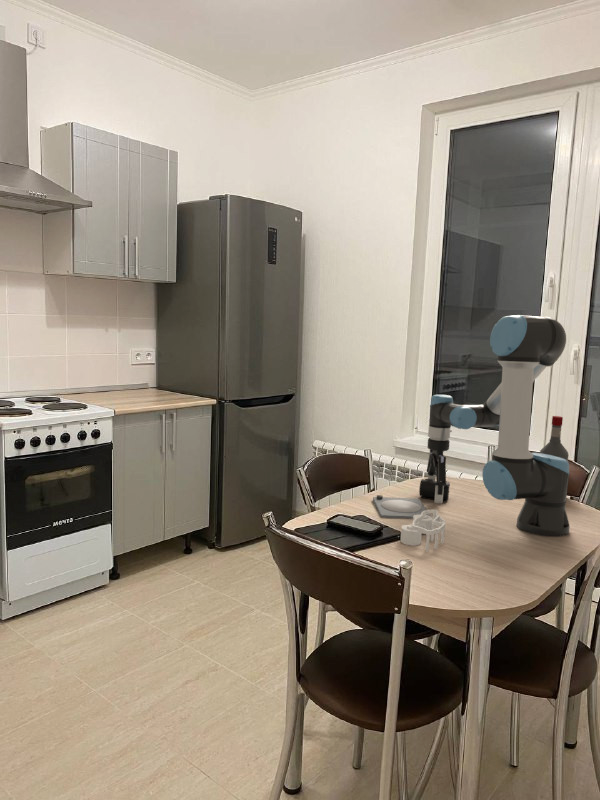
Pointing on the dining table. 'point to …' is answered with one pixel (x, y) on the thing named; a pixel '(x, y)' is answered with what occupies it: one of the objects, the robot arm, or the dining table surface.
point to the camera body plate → (398, 507)
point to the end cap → (432, 489)
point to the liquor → (555, 440)
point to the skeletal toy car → (423, 529)
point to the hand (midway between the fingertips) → (434, 498)
